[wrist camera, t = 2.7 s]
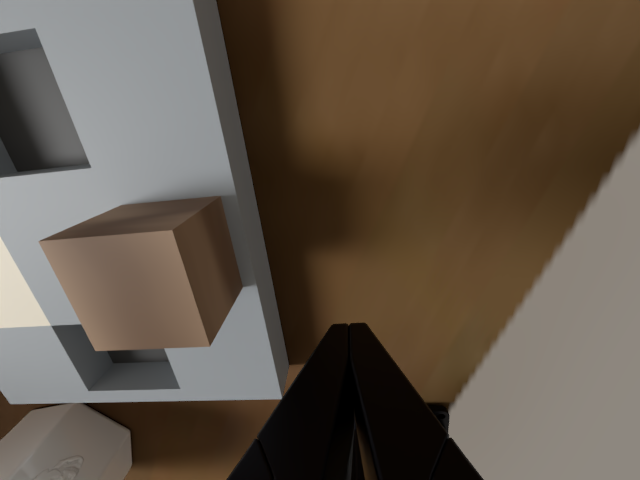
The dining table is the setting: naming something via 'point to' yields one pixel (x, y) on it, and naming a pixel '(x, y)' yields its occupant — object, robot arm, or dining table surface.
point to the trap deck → (122, 191)
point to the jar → (66, 446)
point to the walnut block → (149, 273)
